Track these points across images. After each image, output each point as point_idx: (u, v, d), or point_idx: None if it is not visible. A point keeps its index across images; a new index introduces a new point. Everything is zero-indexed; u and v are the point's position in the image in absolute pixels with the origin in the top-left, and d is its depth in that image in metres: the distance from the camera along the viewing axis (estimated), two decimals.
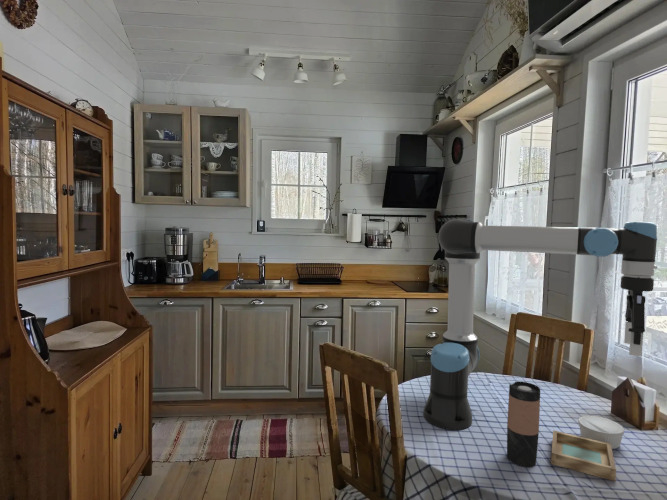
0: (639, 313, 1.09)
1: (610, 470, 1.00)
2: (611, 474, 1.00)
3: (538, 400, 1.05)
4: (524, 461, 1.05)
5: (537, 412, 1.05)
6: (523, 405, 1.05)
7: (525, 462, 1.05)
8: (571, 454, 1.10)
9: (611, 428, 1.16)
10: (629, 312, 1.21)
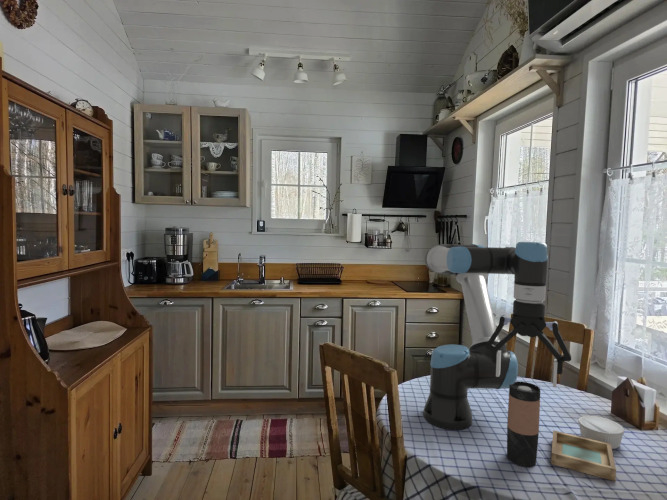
0: None
1: (610, 470, 1.00)
2: (611, 474, 1.00)
3: (538, 400, 1.05)
4: (524, 461, 1.05)
5: (537, 412, 1.05)
6: (523, 405, 1.05)
7: (525, 462, 1.05)
8: (571, 454, 1.10)
9: (611, 428, 1.16)
10: None
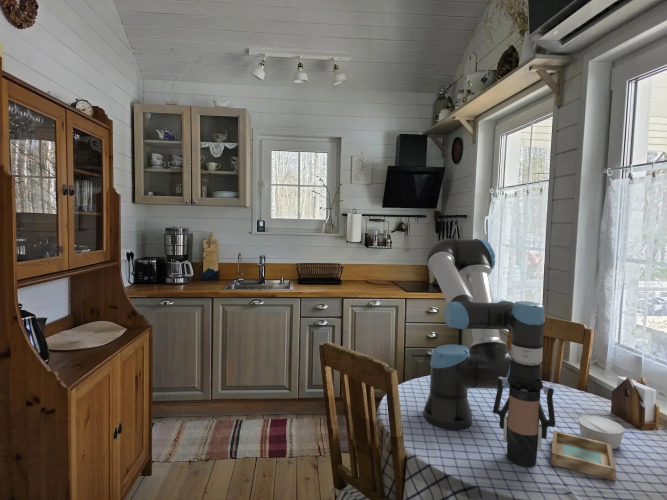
0: None
1: (610, 470, 1.00)
2: (611, 474, 1.00)
3: (538, 400, 1.05)
4: (524, 461, 1.05)
5: (537, 412, 1.05)
6: (523, 405, 1.05)
7: (525, 462, 1.05)
8: (571, 454, 1.10)
9: (611, 428, 1.16)
10: None
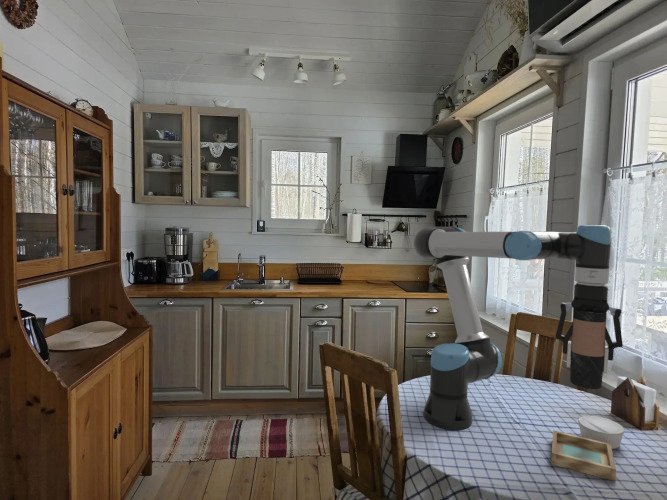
0: (559, 320, 1.11)
1: (610, 470, 1.00)
2: (611, 474, 1.00)
3: (605, 321, 1.04)
4: (590, 383, 1.05)
5: (604, 333, 1.04)
6: (589, 326, 1.04)
7: (591, 384, 1.05)
8: (571, 454, 1.10)
9: (611, 428, 1.16)
10: None
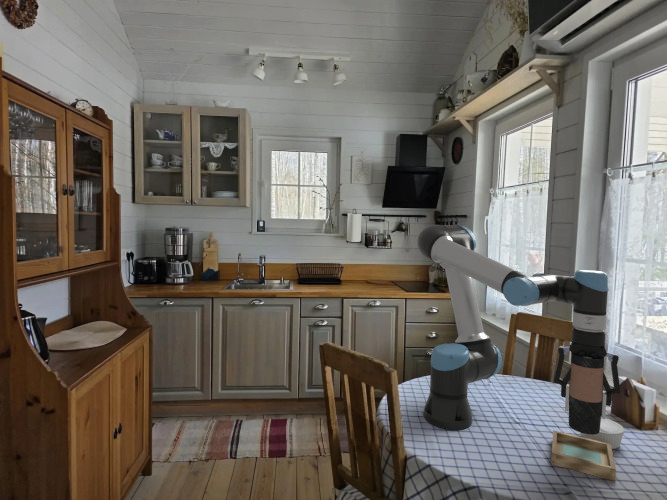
0: (557, 364, 1.11)
1: (610, 470, 1.00)
2: (611, 474, 1.00)
3: (602, 367, 1.05)
4: (589, 428, 1.05)
5: (601, 379, 1.05)
6: (587, 372, 1.05)
7: (590, 429, 1.05)
8: (571, 454, 1.10)
9: (611, 428, 1.16)
10: None
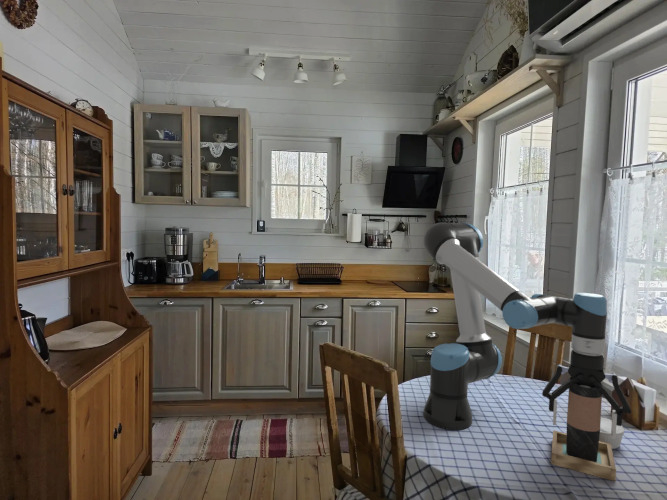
0: (551, 380, 1.12)
1: (610, 470, 1.00)
2: (611, 474, 1.00)
3: (600, 396, 1.06)
4: (586, 457, 1.06)
5: (599, 408, 1.05)
6: (585, 401, 1.05)
7: (587, 458, 1.06)
8: None
9: None
10: None
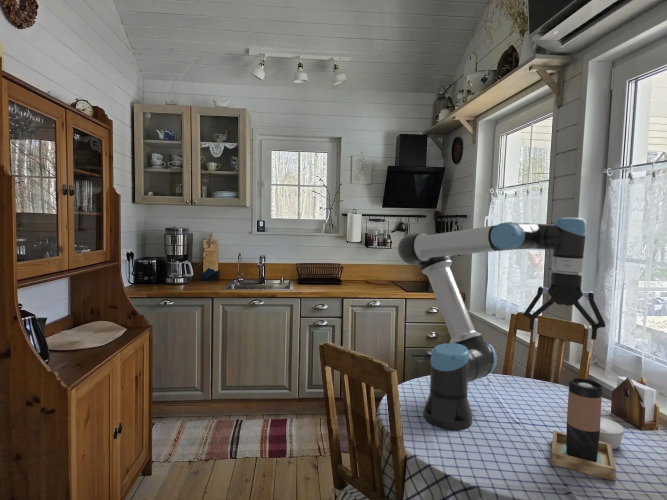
0: (532, 301, 1.20)
1: (610, 470, 1.00)
2: (611, 474, 1.00)
3: (600, 397, 1.06)
4: (586, 457, 1.06)
5: (599, 408, 1.05)
6: (585, 401, 1.05)
7: (587, 458, 1.06)
8: None
9: (611, 428, 1.16)
10: None
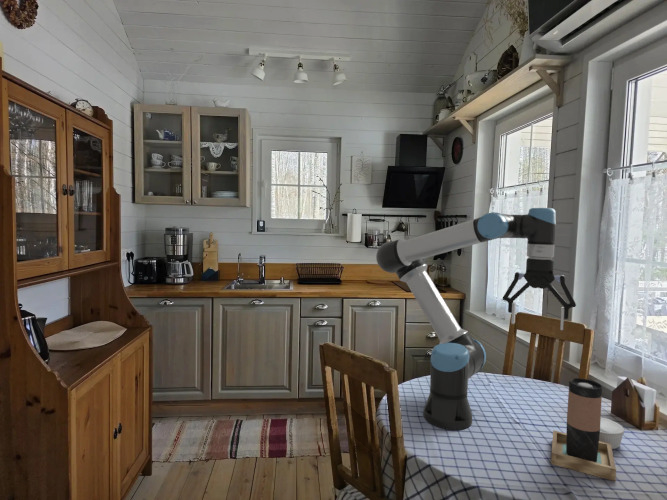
0: (510, 285, 1.30)
1: (610, 470, 1.00)
2: (611, 474, 1.00)
3: (600, 397, 1.06)
4: (586, 457, 1.06)
5: (599, 408, 1.05)
6: (585, 401, 1.05)
7: (587, 458, 1.06)
8: None
9: (611, 428, 1.16)
10: None
